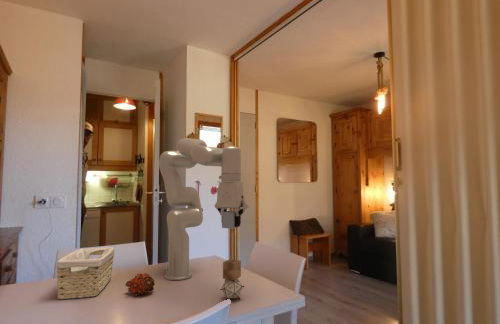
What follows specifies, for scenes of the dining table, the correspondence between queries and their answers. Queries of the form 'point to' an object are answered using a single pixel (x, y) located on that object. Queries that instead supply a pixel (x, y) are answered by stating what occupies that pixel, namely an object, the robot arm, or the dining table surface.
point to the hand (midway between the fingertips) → (230, 225)
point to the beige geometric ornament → (232, 288)
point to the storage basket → (84, 272)
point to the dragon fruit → (141, 284)
